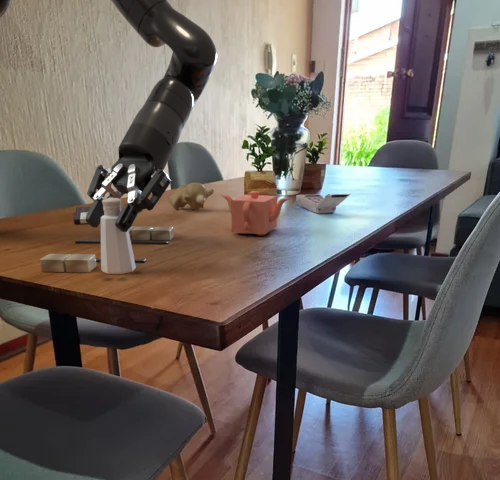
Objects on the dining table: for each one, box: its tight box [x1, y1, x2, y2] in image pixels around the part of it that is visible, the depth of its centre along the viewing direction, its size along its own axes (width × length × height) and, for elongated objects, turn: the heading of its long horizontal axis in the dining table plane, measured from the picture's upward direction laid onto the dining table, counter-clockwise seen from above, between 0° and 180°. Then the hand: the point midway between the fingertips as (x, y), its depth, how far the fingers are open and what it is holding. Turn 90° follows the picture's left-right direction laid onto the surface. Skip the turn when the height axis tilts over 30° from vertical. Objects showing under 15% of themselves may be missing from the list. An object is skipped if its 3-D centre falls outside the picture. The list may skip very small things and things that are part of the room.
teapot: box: [220, 190, 291, 237], centre depth 106 cm, size 12×15×8 cm
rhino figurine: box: [167, 182, 215, 211], centre depth 132 cm, size 8×7×12 cm
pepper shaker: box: [100, 197, 137, 275], centre depth 79 cm, size 5×5×11 cm
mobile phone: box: [295, 193, 351, 215], centre depth 131 cm, size 6×6×25 cm
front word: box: [39, 253, 147, 273], centre depth 82 cm, size 15×7×2 cm, turn 86°
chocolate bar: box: [73, 206, 91, 225], centre depth 124 cm, size 9×1×18 cm
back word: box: [75, 225, 175, 245], centre depth 100 cm, size 18×7×2 cm, turn 86°
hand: (105, 226), depth 77 cm, fingers open, 5 cm apart
